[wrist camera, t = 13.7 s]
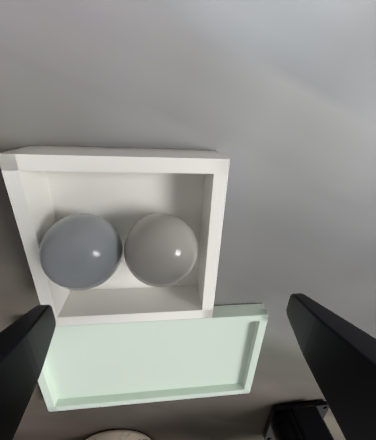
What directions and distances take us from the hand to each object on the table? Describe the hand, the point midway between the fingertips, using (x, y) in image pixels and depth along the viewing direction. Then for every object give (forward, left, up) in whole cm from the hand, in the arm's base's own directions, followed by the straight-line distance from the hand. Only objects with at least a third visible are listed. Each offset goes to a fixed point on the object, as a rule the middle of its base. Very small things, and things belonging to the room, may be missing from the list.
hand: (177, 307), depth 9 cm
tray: (-12, +1, -7) cm, 14 cm away
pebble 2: (0, 0, -6) cm, 6 cm away
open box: (0, +2, -7) cm, 7 cm away
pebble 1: (0, +4, -6) cm, 8 cm away
